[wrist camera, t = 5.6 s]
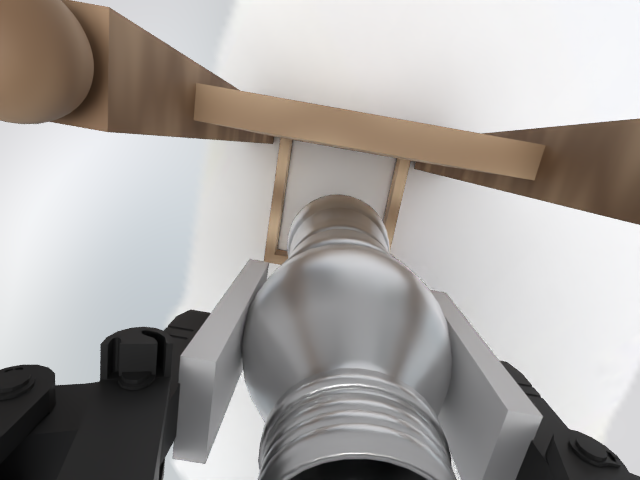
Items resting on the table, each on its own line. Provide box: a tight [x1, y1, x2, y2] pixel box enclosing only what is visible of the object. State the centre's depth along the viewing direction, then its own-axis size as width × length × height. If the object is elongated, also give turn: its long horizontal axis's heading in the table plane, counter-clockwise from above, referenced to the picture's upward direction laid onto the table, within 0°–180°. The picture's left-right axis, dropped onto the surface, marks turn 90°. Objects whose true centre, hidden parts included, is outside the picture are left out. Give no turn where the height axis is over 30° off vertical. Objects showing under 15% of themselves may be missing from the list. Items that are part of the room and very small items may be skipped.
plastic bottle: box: [242, 195, 456, 480], centre depth 15 cm, size 6×7×20 cm
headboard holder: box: [0, 0, 640, 265], centre depth 23 cm, size 15×21×31 cm
